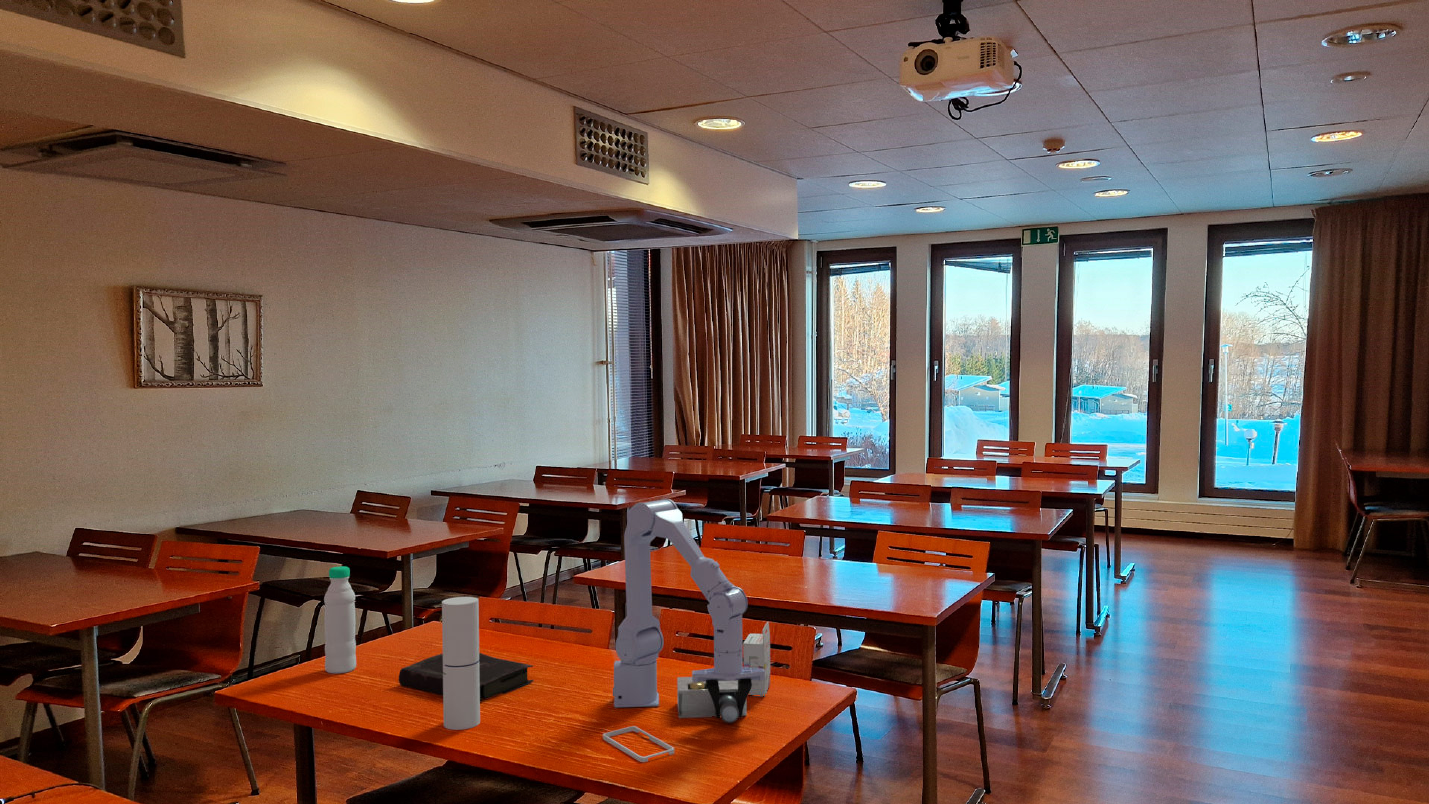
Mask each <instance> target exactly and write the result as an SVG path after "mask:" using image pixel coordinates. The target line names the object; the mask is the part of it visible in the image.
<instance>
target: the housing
mask: <svg viewBox="0 0 1429 804" xmlns="http://www.w3.org/2000/svg"><path fill="white" fill-rule="evenodd" d="M676 678H677V681H676V683H677V684H676V685H677V686H676V688H677V689H676V690H677V692H676V693H677V694H676V695H677V696H676V697H677V712H678V718H679V719H686V718H687V719H689V718H713V717H712V716H716V711H715V706H714V703H713V700H712V698H711V695H710V693H709V691H708V689H707V686H706V681H705V682H704V683H705V689H695V690H690V683H691V682H693V681H692V676H683V677H682V676H679V677H676ZM718 683H719V692H734V695H735V699H736V702H737V706H738V681H718ZM747 707H748V706H747V699H746V701H745V704H744V708H743V713H742V717H743V716H744V717H746V716H748V715H747V713H748V712H747V709H748V708H747Z"/></svg>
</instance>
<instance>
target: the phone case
mask: <svg viewBox="0 0 1429 804" xmlns="http://www.w3.org/2000/svg"><path fill="white" fill-rule="evenodd" d="M629 732H635V733H642V734H644V735H646V737H648V740H650V741H651V742H653V743H655V744H657V745H658V746H660V747H662V748H664V749H666V750H663V751H660V752H656V753H653V754H649V755H646V756H642V755H639V754H637V753H636V752H634V751H633V750H631V749H629V748H628V747H626V746H624V745H622V744H621V743H620V742H618V741H616V740H615V739H613V738H611V737H614V736H618V735H622V734H626V733H629ZM602 739H603V740H604V741H605V742H607V743H609V744H610V745H612V746H614V747H615V748H617V749H619V750H620V751H622V752H623V753H625V754H627V755H628V756H630V757H631V758H633V759H635V760H637V761H638V762H641V763H646V762H649V759H650V758H653V757H657V756H660V755H664V754H667V753H668V754H669V756H671V755H674V754H675V747H673V746H672V745H670V744H668V743H666V742H665V741H663V740H661V739H660V738H657V737H655V736H653V735H651V734H650V733H648V732H647V731H645V730H643V729H641V728H639V727H638V726H634V725H632V726H628V727H624V728H619V729H616V730H611V731H609V732H608V731H607V732H604V733H603V734H602Z"/></svg>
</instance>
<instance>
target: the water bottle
mask: <svg viewBox="0 0 1429 804" xmlns="http://www.w3.org/2000/svg"><path fill="white" fill-rule="evenodd" d="M350 571H351V569H350V567H348V566H346V565H345V566H342V565H341V566H334V567H331V568H329V571H328V577H329V580H330V584H329V586H328V587H327V590H326V592H325V594H324V598H323V602H324V618H323V619H324V623H323V625H324V638H325V639H324V640H325V642H324V643H325V645H324V654H325V659H324V660H325V661H324V669H325V672H327V673H329V674H333V675H334V674H335V675H336V674H346V673H350V672H352V671H354V670H355V669H356V667H357V655H356V650H357V649H356V648H357V642H356V624H357V623H356V605H355V604H356V603H355V600H356V594H355V592H354V590H353V589H352V586H351V583H350V582H349V578H350V576H351V574H350V573H351V572H350Z"/></svg>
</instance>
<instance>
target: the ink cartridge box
mask: <svg viewBox="0 0 1429 804" xmlns="http://www.w3.org/2000/svg"><path fill="white" fill-rule="evenodd" d="M761 631H762V633H749V634H748V635H747V637H746V639H744V641H743V642H742V654H743V668H756V669H764V671H765V681H759V680H751V683H752V687H751V690H750V692H749V694H750V695H760V696H759V697H763V695H764V697H766V696H765V694H766V695H767V693H768V691H767V690H769V689H770V686H771V634H770V633H771V632H770V622H769V621H767V622H766V623H765V624H764V626H763V629H762V630H761ZM769 685H770V686H769ZM768 688H769V689H768Z"/></svg>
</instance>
